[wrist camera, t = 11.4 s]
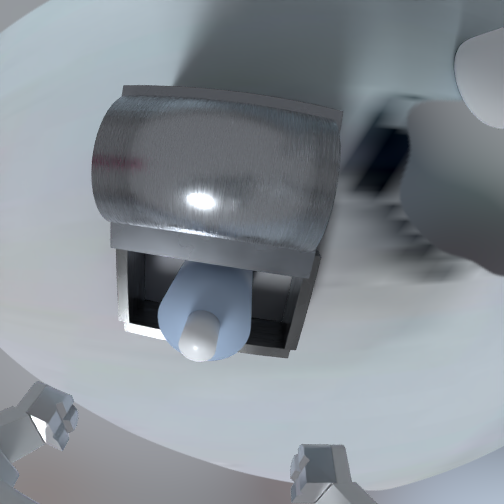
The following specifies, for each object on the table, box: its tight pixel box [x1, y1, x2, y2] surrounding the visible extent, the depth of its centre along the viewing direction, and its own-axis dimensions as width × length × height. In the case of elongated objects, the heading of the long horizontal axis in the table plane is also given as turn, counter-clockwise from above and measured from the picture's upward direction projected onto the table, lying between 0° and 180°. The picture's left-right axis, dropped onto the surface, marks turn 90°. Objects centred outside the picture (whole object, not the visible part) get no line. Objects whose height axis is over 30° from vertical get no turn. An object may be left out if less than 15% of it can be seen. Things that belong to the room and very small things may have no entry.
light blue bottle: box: [158, 260, 253, 362], centre depth 18 cm, size 5×5×9 cm
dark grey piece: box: [92, 85, 343, 358], centre depth 16 cm, size 13×16×10 cm
